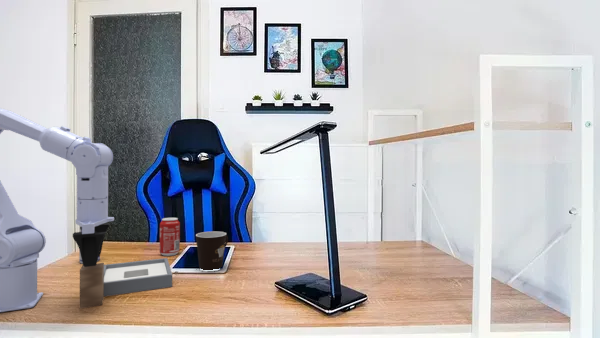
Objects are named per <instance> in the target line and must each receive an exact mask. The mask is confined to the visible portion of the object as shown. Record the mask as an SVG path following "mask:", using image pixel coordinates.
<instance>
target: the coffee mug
mask: <svg viewBox="0 0 600 338" xmlns="http://www.w3.org/2000/svg"><path fill="white" fill-rule="evenodd" d="M195 238H196V239H195V240H196V248H197V249H196V250H197V259H198V266H199V269H200V268H201V269H203V270H213V269H219V268H221V267H222V268H223V264H224V256H225V249H226V247H227V245H228V243H229V237H228V235H227V232H224V231H214V230H213V231H203V232H198V233H196V234H195Z"/></svg>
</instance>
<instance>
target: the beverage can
mask: <svg viewBox="0 0 600 338" xmlns="http://www.w3.org/2000/svg"><path fill="white" fill-rule="evenodd" d="M178 219H179V218H178V217H163V218H162V219H161V221H160V223H159V253H160V254H161V256H164V257H171V256H176V255H177V254H178V253H179V252H180V250H181V246H180V245H181V242H180V241H181V237H180V236H181V222H180V221H179V220H178Z"/></svg>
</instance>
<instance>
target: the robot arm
mask: <svg viewBox="0 0 600 338" xmlns="http://www.w3.org/2000/svg"><path fill="white" fill-rule="evenodd" d="M4 131H10V132H12V133H15V134H18V135H22V136H24V137H26V138H29V139H31V140H34V141H37V142H39V144H40V145H39V146H40V147H41V149H42V150H43V151H45V152H47V153H50V154H52V155H55V156H57V157H59V158H61V159H64V160H66V161H68V162H71V164H72V165H73V166H74V168H75V175H76V219H75V224H76V225H77V226H79V230H80V229H81V231H82V232H79V231H76V232H73V233H72V238H73V240H74V241H75V243H76V245H77V247H78V249H79V250H80V254H81V258H82V262H83V265H84V267H89V266H96V264H98V262H97V260H98V257H99V256H100V257H101V254H102V250H103V245H104V239H105V236H106V233H107V231H108V229H109V227H110V223H109V222H114V221H115V217H114V216H109V167H110V166H111V165H112V162H113V161H114V154H113V151H112V149H111V148H110V147H109V146H107V145H106V144H104V143H101V142H96V143H95V142H92V139H91V137H88V136H83V137H82V136H80V135H78V134H77V133H73V132H71V131H72V130H71V128H70V127H67V126H63V125H61V126H60V127H59V126H52V127H48V128H47V127H46V126H44V125H42V124H40V123H37V122H35V121H33V120H31V119H28V118H27V117H25V116H22V115H21V114H18V113H16V112H14V111H12V110H9V109H5V108H2V107H0V135H1V134H2V133H3V132H4ZM80 226H81V227H80ZM46 239H47V238H46V236H45V234H44V232H43V231H42V230H41V229H38V228H37V227H36V226H35V224H34V222H33V221H32V220H30V219H29V218H27V217H24V216H23V215H21V214H19V213H18V211H17V209H16V206H15V205H14V203H13V202H12V200H11V198H10V196H9V195H8V192H7V191H6V188H5V187H4V185H3V183H2V181H1V180H0V313H4V312H9V311H17V310H24V309H30V308H31V309H32V308H34V307H35V306H36V305H37V304H38V302H39V301H40V299H41V298H42V297H43V296H44V292H42V291H41V292H38V258H40V252H42V251H43V250H44V248H45V246H46V243H47V240H46ZM79 250H78V251H79Z"/></svg>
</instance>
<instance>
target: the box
mask: <svg viewBox="0 0 600 338" xmlns="http://www.w3.org/2000/svg"><path fill="white" fill-rule="evenodd" d="M171 287H173V273H172V269H171V266H170V262H169V259H168V258H167V257H165V258H156V259H148V260H147V259H146V260H145V259H144V260H137V261H136V260H134V261H128V262H116V263H110V264H109V263H108V264H104V297H108V296H109V297H110V296H117V295H118V296H119V295H123V294H131V293H138V292H146V291H151V290H157V289H158V290H159V289H166V288H171Z"/></svg>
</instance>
